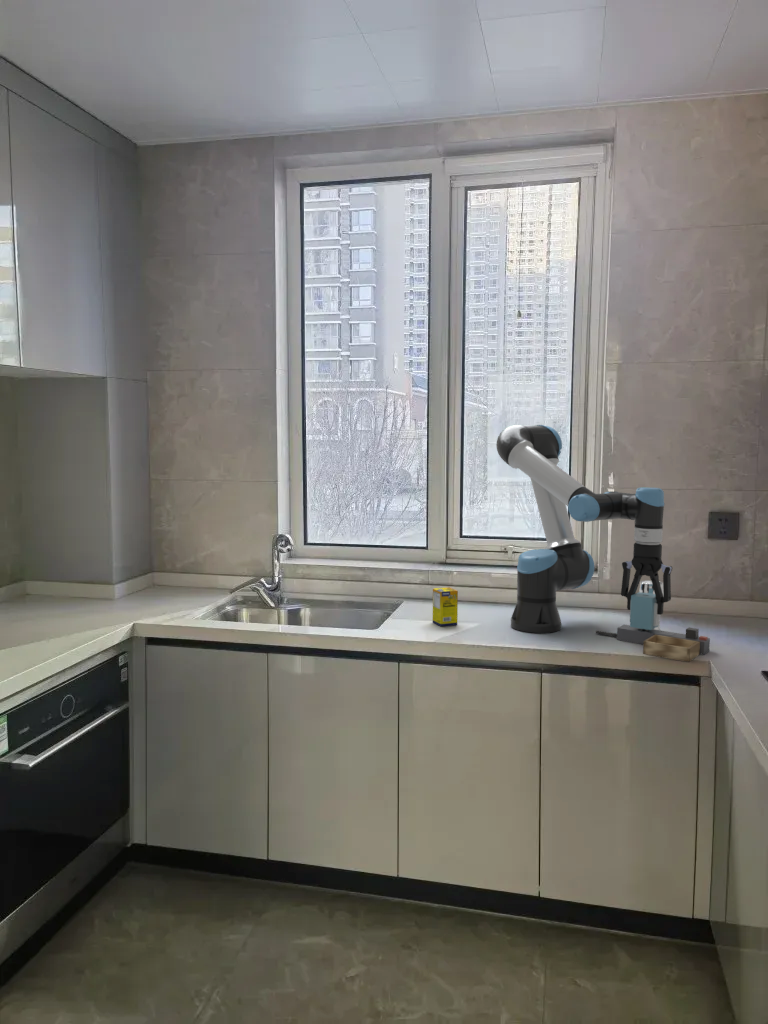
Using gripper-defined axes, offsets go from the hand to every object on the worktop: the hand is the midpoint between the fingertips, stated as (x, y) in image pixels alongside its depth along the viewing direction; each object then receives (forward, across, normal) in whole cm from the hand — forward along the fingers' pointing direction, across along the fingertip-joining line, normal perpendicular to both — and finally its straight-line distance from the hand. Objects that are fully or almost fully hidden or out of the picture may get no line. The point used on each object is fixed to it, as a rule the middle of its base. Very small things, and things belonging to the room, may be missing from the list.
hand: (644, 623), depth 217 cm
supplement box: (+6, -56, -18) cm, 59 cm away
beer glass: (+6, -3, +13) cm, 14 cm away
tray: (+5, +10, -8) cm, 14 cm away
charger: (+3, 0, 0) cm, 3 cm away
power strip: (+5, +1, 0) cm, 6 cm away
